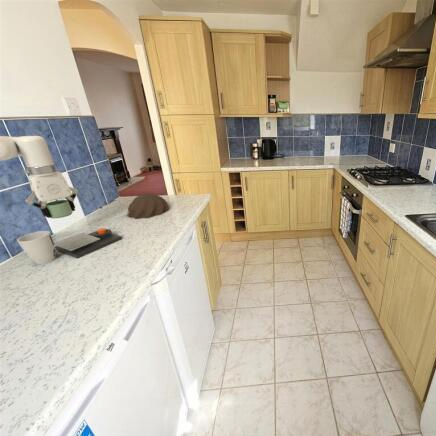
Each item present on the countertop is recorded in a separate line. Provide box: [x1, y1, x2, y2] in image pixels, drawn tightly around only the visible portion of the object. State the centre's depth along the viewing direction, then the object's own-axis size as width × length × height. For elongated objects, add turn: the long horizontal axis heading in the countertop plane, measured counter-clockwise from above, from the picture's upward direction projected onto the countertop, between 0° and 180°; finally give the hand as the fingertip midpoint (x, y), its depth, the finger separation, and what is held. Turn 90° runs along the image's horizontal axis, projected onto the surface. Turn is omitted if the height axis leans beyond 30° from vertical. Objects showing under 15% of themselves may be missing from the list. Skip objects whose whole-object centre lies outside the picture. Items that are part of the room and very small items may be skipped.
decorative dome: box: [127, 192, 170, 220], centre depth 128 cm, size 19×20×10 cm
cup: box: [16, 230, 57, 265], centre depth 86 cm, size 8×8×10 cm
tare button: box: [96, 227, 107, 234], centre depth 101 cm, size 3×3×2 cm
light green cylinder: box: [46, 199, 74, 219], centre depth 98 cm, size 7×7×6 cm
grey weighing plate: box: [54, 232, 100, 251], centre depth 94 cm, size 12×10×1 cm
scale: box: [54, 228, 123, 259], centre depth 98 cm, size 16×16×3 cm
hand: (60, 213), depth 98 cm, fingers closed on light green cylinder, 7 cm apart
